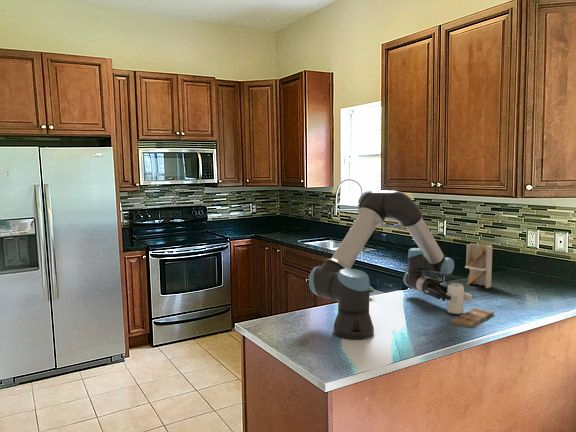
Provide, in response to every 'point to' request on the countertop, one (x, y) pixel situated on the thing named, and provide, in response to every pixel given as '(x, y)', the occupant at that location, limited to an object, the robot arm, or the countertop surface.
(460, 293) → the can
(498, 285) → the countertop surface
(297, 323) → the countertop surface
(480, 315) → the walnut board
